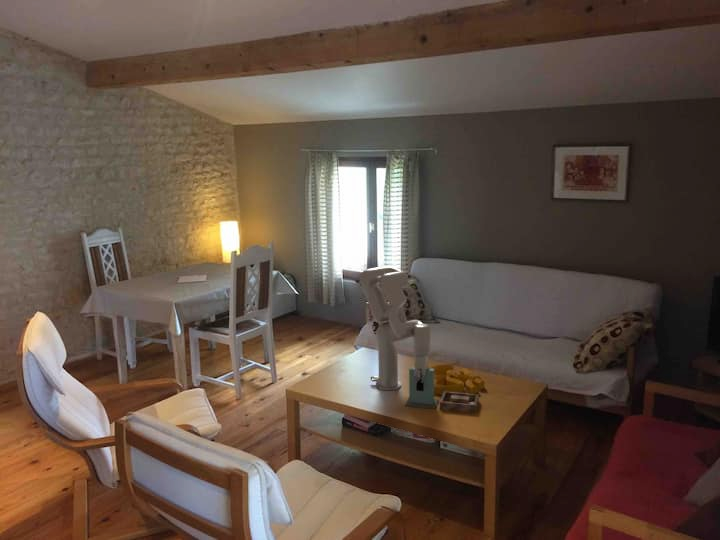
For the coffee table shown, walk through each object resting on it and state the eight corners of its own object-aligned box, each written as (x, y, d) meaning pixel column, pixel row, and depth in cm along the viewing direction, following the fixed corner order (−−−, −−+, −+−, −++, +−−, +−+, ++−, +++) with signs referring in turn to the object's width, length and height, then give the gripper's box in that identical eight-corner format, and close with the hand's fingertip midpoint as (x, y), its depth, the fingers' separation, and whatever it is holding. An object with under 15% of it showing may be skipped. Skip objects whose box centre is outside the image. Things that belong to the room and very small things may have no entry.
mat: (404, 406, 279) (404, 404, 279) (409, 397, 289) (409, 396, 289) (435, 409, 275) (435, 407, 275) (438, 400, 285) (438, 399, 285)
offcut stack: (449, 408, 276) (449, 397, 276) (450, 405, 280) (450, 395, 279) (474, 410, 274) (474, 400, 273) (474, 407, 277) (474, 397, 276)
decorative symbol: (426, 363, 321) (484, 366, 315) (426, 372, 322) (484, 375, 316) (420, 384, 292) (484, 387, 287) (420, 394, 293) (484, 398, 287)
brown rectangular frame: (439, 409, 275) (439, 402, 274) (443, 398, 287) (443, 391, 286) (475, 413, 271) (475, 405, 270) (478, 401, 283) (478, 394, 282)
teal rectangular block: (409, 401, 282) (409, 369, 279) (410, 399, 285) (410, 366, 282) (433, 404, 279) (433, 371, 276) (434, 401, 282) (434, 368, 279)
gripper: (417, 344, 286) (417, 379, 290) (410, 356, 270) (410, 393, 273) (433, 345, 284) (433, 380, 288) (426, 357, 268) (426, 394, 271)
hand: (421, 386), depth 281 cm, fingers open, 9 cm apart
